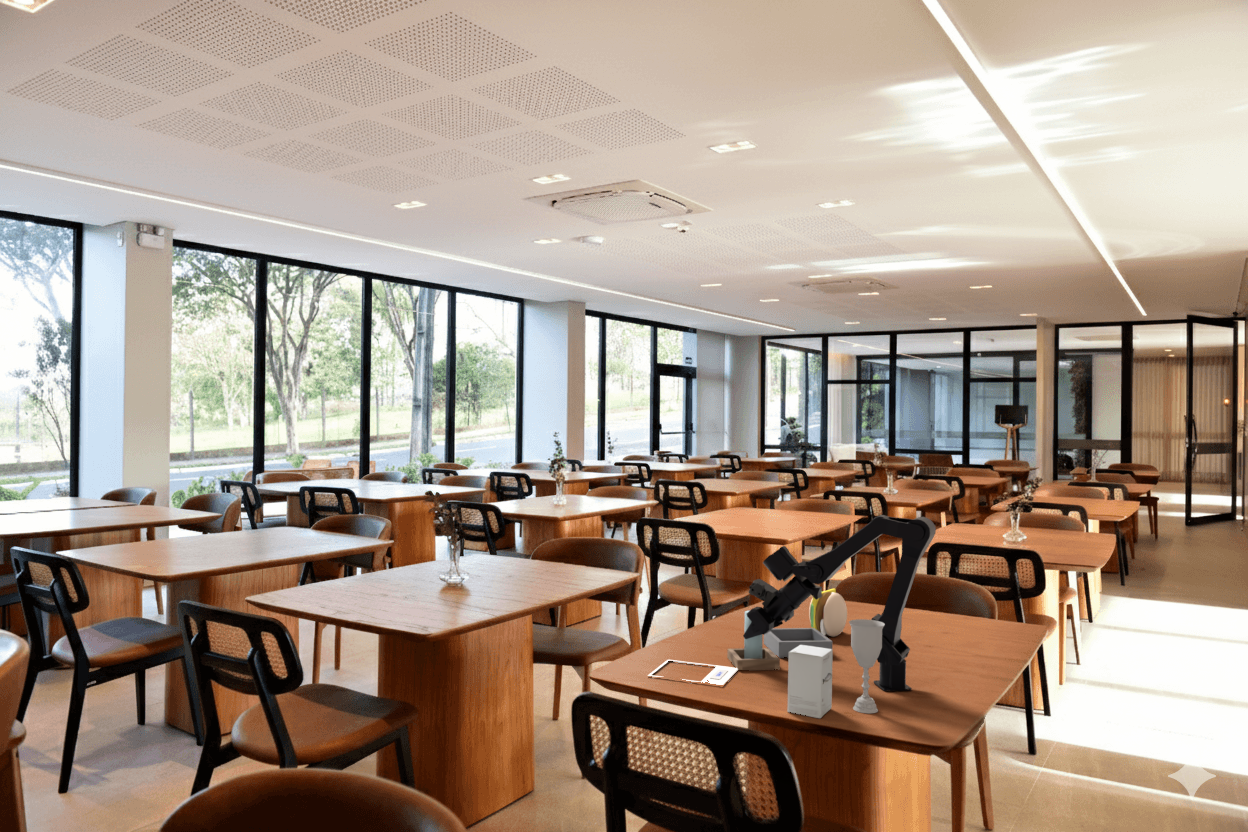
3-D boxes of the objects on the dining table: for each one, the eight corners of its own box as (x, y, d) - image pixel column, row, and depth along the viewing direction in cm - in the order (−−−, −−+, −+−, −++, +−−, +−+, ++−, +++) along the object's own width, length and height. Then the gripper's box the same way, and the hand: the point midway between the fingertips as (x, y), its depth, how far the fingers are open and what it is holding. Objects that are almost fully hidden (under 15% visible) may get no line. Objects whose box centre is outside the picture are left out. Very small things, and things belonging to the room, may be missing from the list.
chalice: (877, 703, 184) (878, 619, 184) (888, 714, 177) (889, 627, 177) (843, 703, 184) (844, 619, 184) (852, 714, 177) (854, 626, 177)
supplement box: (821, 719, 174) (822, 656, 174) (786, 712, 178) (787, 651, 178) (832, 709, 181) (833, 648, 181) (798, 702, 184) (799, 643, 184)
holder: (779, 669, 208) (779, 659, 208) (737, 670, 207) (737, 660, 207) (767, 657, 219) (767, 648, 219) (727, 658, 217) (727, 648, 217)
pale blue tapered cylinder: (764, 665, 211) (764, 614, 211) (746, 665, 210) (747, 614, 210) (759, 660, 215) (760, 610, 215) (742, 660, 215) (742, 610, 215)
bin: (832, 657, 220) (832, 641, 220) (778, 657, 219) (778, 642, 219) (814, 642, 234) (814, 627, 234) (763, 643, 233) (763, 628, 233)
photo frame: (722, 684, 194) (647, 674, 201) (722, 689, 194) (647, 679, 201) (738, 667, 208) (667, 658, 214) (738, 671, 208) (667, 663, 214)
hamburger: (832, 641, 236) (832, 597, 236) (805, 636, 241) (805, 593, 241) (852, 633, 245) (852, 591, 245) (825, 628, 250) (826, 587, 250)
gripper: (782, 564, 219) (741, 603, 224) (755, 575, 203) (711, 616, 208) (812, 599, 215) (769, 637, 220) (787, 613, 199) (741, 654, 204)
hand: (748, 635), depth 214 cm, fingers closed on pale blue tapered cylinder, 4 cm apart
